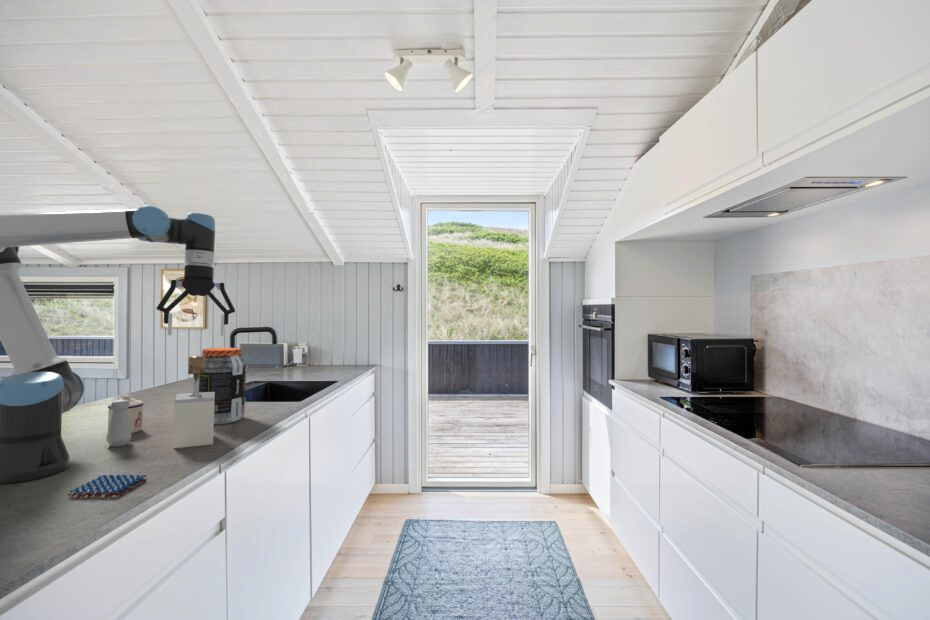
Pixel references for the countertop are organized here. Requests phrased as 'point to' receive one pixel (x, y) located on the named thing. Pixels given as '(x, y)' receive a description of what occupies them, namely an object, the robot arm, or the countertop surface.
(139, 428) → the cream lidded canister
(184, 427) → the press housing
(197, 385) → the wooden block topped rod
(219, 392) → the supplement tub
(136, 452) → the countertop surface
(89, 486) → the woven mat
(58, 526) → the countertop surface
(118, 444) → the salt shaker
